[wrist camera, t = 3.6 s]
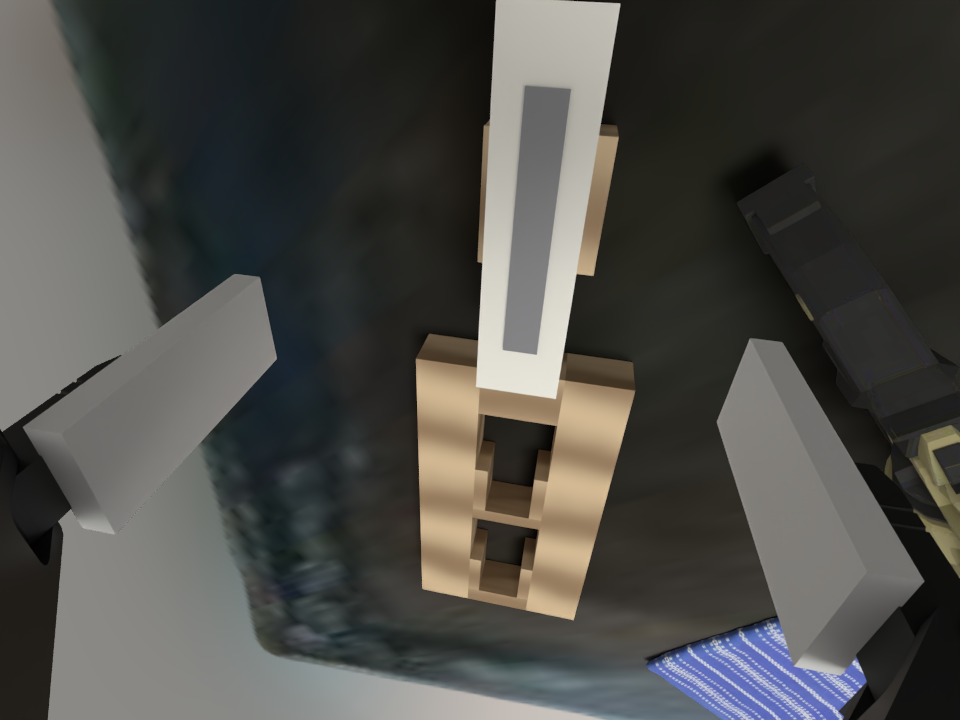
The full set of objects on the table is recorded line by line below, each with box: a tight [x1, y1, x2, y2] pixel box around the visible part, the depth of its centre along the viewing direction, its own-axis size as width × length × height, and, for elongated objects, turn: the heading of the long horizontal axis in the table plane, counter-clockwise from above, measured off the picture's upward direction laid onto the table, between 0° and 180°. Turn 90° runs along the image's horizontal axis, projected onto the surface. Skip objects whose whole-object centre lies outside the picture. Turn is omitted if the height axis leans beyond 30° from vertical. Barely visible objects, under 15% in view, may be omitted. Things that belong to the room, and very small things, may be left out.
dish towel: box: [646, 617, 867, 720], centre depth 45 cm, size 17×24×3 cm
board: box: [416, 334, 635, 620], centre depth 38 cm, size 24×13×3 cm, turn 177°
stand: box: [478, 120, 619, 276], centre depth 26 cm, size 7×6×3 cm
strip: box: [476, 0, 620, 399], centre depth 24 cm, size 16×4×7 cm, turn 177°
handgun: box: [737, 163, 960, 578], centre depth 27 cm, size 4×30×16 cm, turn 39°
